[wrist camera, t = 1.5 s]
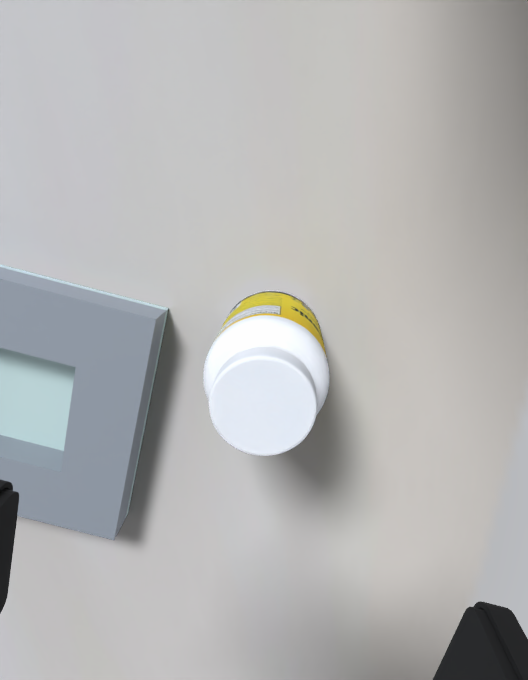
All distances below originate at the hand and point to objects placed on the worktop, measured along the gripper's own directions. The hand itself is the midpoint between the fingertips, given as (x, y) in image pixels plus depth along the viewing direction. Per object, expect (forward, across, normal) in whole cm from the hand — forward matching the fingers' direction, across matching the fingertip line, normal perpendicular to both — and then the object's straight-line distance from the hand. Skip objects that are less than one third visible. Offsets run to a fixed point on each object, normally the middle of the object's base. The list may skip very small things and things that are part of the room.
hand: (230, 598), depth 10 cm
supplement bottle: (+18, 0, -1) cm, 18 cm away
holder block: (+18, +13, +6) cm, 23 cm away
